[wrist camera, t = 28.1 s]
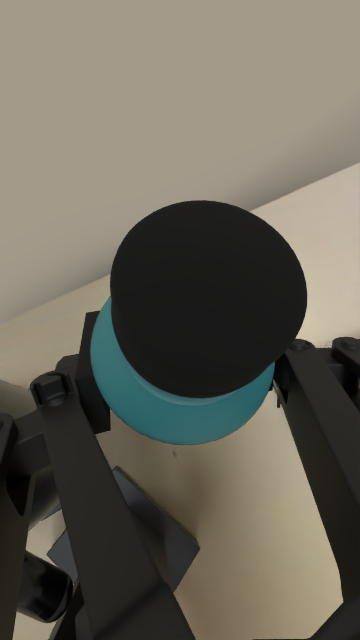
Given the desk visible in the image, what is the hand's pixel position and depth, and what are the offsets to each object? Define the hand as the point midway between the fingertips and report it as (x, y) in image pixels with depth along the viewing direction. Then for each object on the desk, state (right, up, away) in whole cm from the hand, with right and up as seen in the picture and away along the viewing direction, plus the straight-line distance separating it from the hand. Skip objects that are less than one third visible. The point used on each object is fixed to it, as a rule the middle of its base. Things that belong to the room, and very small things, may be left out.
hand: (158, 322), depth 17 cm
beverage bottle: (0, -6, +7) cm, 9 cm away
